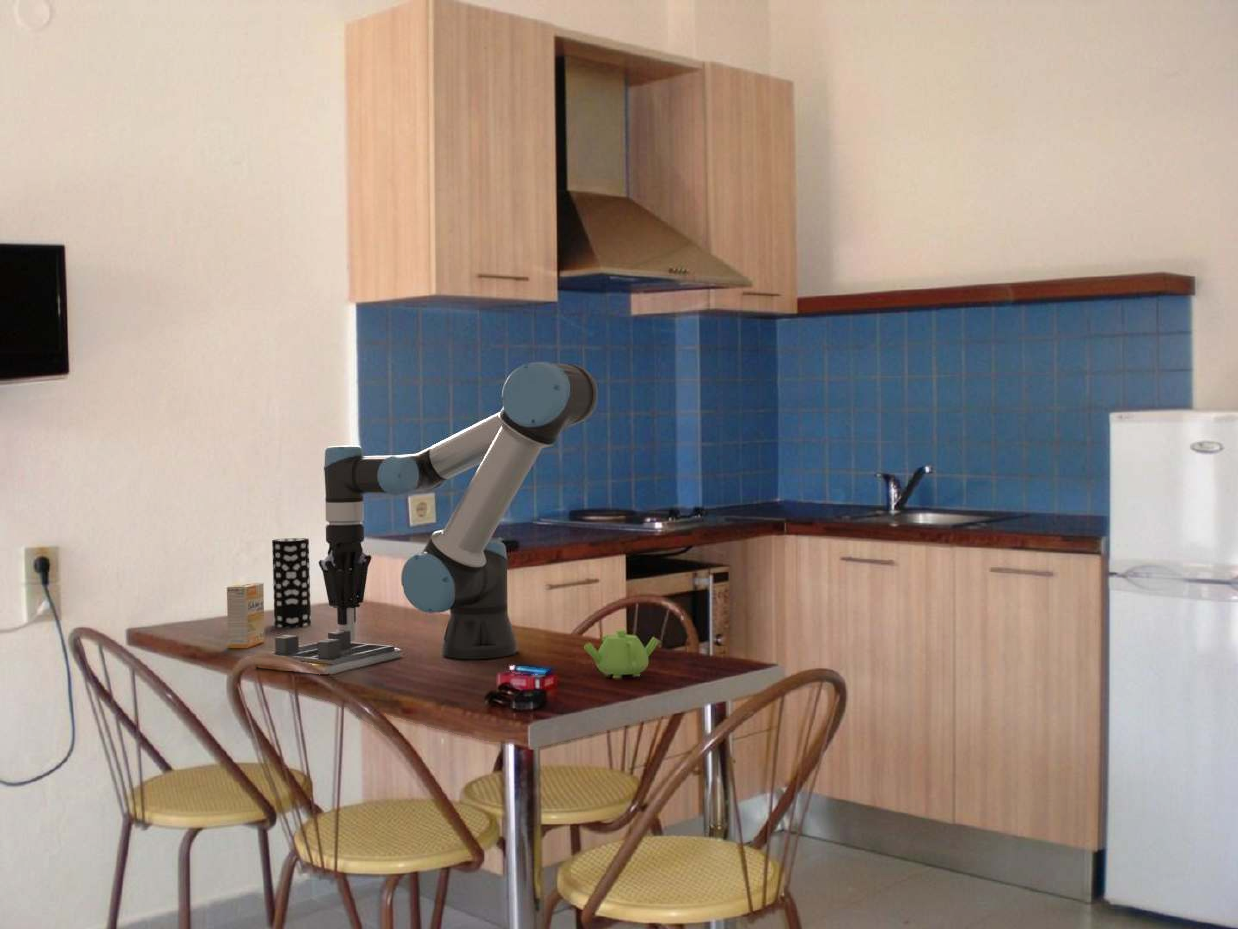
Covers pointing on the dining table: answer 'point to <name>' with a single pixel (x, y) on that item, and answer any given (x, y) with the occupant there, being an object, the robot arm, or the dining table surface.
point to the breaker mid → (341, 638)
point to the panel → (346, 656)
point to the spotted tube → (291, 582)
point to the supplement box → (245, 615)
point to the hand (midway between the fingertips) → (347, 640)
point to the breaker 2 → (329, 649)
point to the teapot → (622, 654)
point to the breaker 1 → (286, 645)
